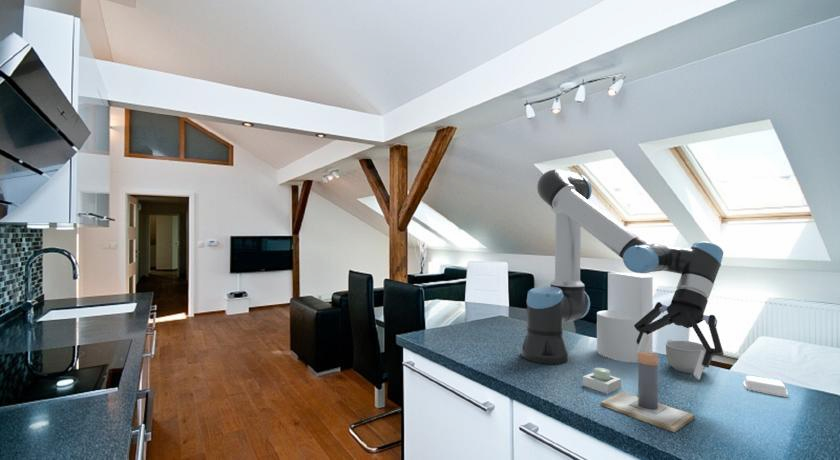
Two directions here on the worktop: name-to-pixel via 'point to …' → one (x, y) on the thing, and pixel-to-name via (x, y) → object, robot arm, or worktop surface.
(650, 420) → the wooden picture frame
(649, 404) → the marker
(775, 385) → the soap
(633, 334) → the cylinder
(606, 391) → the button housing
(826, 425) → the worktop surface
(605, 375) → the button
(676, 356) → the teacup
